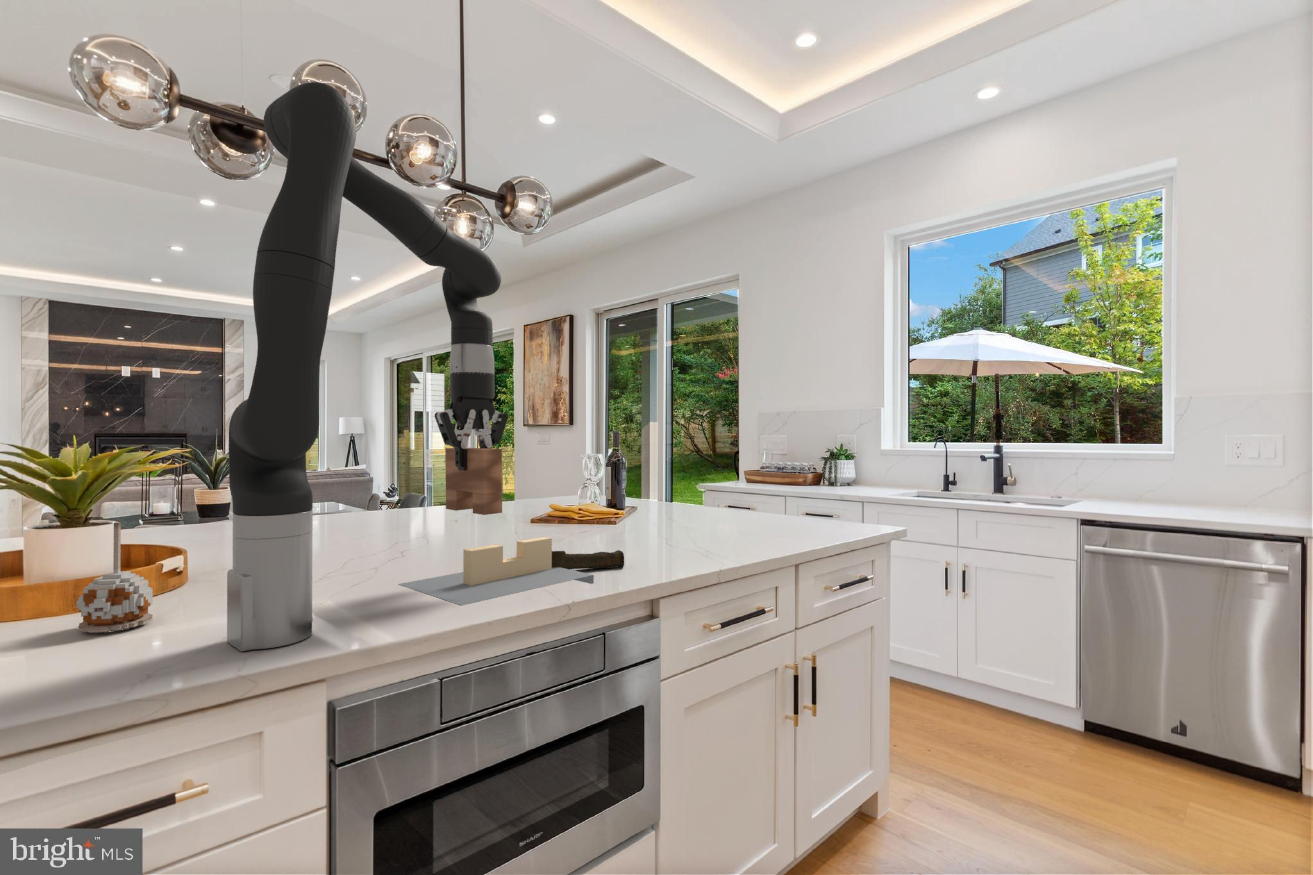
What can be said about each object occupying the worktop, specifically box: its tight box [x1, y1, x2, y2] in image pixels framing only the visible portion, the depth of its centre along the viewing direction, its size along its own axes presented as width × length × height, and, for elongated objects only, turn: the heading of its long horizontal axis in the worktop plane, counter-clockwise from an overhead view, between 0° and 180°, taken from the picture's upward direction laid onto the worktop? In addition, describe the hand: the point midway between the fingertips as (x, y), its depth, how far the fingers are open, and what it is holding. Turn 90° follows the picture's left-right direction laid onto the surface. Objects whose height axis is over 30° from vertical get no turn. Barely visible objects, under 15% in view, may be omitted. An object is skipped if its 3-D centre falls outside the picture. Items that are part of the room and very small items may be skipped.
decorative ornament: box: [76, 521, 154, 634], centre depth 89 cm, size 8×8×15 cm
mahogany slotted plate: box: [444, 447, 503, 516], centre depth 110 cm, size 4×12×11 cm, turn 49°
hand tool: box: [552, 549, 625, 570], centre depth 128 cm, size 19×4×5 cm, turn 117°
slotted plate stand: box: [398, 536, 595, 606], centre depth 113 cm, size 28×20×8 cm
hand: (473, 469), depth 110 cm, fingers closed on mahogany slotted plate, 3 cm apart
